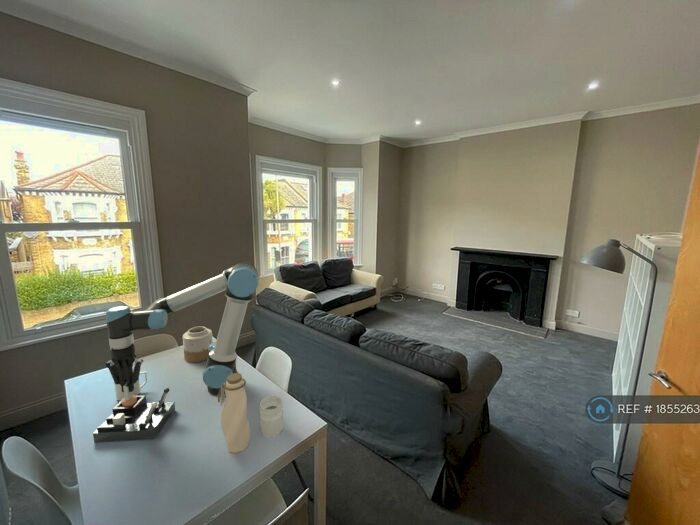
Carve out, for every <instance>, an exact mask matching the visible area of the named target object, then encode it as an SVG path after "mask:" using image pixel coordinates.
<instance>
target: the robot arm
mask: <svg viewBox="0 0 700 525" xmlns="http://www.w3.org/2000/svg"><path fill="white" fill-rule="evenodd" d="M258 285H259V273H258V270H257V268H256V266H255V265H253V264H252V263H249V262H239V263H237V264H235V265H233V266H232V267H229V268H227V269H224V270H223V272H222V273H221V274H218V275H216V276H214V277H211V278H209V279H206V280H204V281H202V282H200V283H197V284H194V285H192V286H189V287H187V288H185V289H183V290H181V291H180V290H179V291H178V292H176V293H173V294H171V295H170V294H169V295H168V296H166V297H161V298H157V299H156V300H154V301H153V302H152V303H151V304H149V306H148V307H146V308H145V309H144V310H137V311H132V310H131V307H130V306H127V305H126V306H125V305H120V306H113V307H110V308H109V309H107V311H106V312H105V318H106V321H105V323H106V327H107V334H108V341H109V343H108V344H109V348H110V350H109V351H110V357H111V359H110V360H108V361H107V362H106V363H105V364H104V365H105V367H106V368H107V369H108V371H109V373H110V375H111V377H112V379H113V383H114V382H115V384H116V385H117V384H120V385H121V388H122V392H124V396H125V401H128V400H130V399H131V398H132V397H133V390H134V384H135V383H136V382H137V381H138V380H139V381H140V375H141V374H140V372H141V366H142V364H143V362H144V360H143V358H142V359H138V358H137V355H136V348H135V339H134V331H145V330H146V331H148V330H157V329H163V328H165V327H166V326H167V323H168V316H169V315H171V314H174V313H176V312H178V311H180V310H183V309H184V308H187V307H189V306H191V305H194V304H196V303H198V302H201V301H204V300H205V299H206V300H207V299H208V298H211V297H212V296H215V295H217V294H220V293H222V292H224V291H225V293H224V296H225V298H227V299H226V302H225V303H226V304H225V307H224V310H223V314H222V318H221V321H220V325H219V329H218V333H217V337H216V339H215V340H216V341H214V342H213V343H212V344H210V345H209V349H208V350H209V356H208V359H207V361H206V364H205V367H204V370H203V372H202V381H203V383H204V384H205V386H207V387H206V388H207V392H208V393H209V394H211V395H214V396H218V394H219V391H220V389H221V387H222V385H223V383H224V382H225V383H226V382H227V377H228V376H229V375H230V374H233V373H239V372H238V370H237V358H238V354H237V353H236V348H237V346H238V341H239V338H240V337H239V336H240V334H241V329H242V325H243V323H244V319H245V315H246V312H247V308H248V303H250V302H251V301H253V300H254V296H255V292H256V290H257V288H258ZM133 369H134V371H133ZM139 374H140V375H139ZM224 395H225V388H224ZM220 396H221V393H220Z"/></svg>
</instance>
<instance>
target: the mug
mask: <svg viewBox="0 0 700 525" xmlns="http://www.w3.org/2000/svg"><path fill="white" fill-rule="evenodd" d="M133 371H134V368H133ZM142 374H144V377H145V380H144V382H143V383H142V384H141V385H140V379H139V380H138V381H137V382H136V383H135V384H134V390H133V395H136V396H139V394H140V392H141V389H142V388H143V387H144V386H145V385H146V384H147V383H148V378H147V376H148V374H147V370H145V371H140V374H139V376H140V375H142ZM113 384H114V391H115V398H116V399H117V400H118V401H119V402H120V401H121V400H122V399H123V398H124V397H125V396H124V392H122V388H121V385H120V384H117V385H116V384H115V382H114V381H113Z"/></svg>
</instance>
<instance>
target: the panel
mask: <svg viewBox="0 0 700 525" xmlns="http://www.w3.org/2000/svg"><path fill="white" fill-rule="evenodd" d="M124 398H125V397H124ZM124 398H123V399H124ZM123 399H122V400H123ZM122 400H121V401H120V400H119V401H118V403H117V404H116V405H115V406H114V407H113V408H112V414H110V416H108V417H106V419H105V421H104V422H103V423H101V425H99V426H97V427H96V430H94V431H93V433H92V435H93V442H94V444H95V443H110V442H111V443H112V442H113V443H116V442H126V441H145V440H147V441H148V440H155V439H156V438H157V436H158V435H159V434H160V432H161V431H162V429H163V428H164V426H165V425H166V424H167V423H168V421H169V420H170V418H171V417H172V415H173V414H174V412H175V411H176V405H175V401H170V402H169V401H168V402H165V401H164V403H163V404H162V405H161V407H160V408H159V407H156V408H155V410H154V413H153V415H152V417H151V419H150V420H149V422H148V423H147V424H146V423H144V422H145V420H146V417H147V415H148V413H149V411H150V408H151V405H152V403H153V402H147V395H146V394H144V395H143V394H142V395H137V403H136V404H135V405H134V406H131V407H123V406H122ZM157 401H158V402H157V404H159V402H160V399H159V400H157ZM157 406H158V405H157ZM118 413H124V414H125V423H124V425H113V418H114V417H115V416H116V415H117V414H118Z"/></svg>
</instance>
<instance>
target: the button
mask: <svg viewBox="0 0 700 525" xmlns="http://www.w3.org/2000/svg"><path fill="white" fill-rule="evenodd" d="M137 396H138V395H137ZM137 396H136V395H133V397H132V398H131V399H130V400H128V401H125V398H124V399H123V400H122V406H123V407H131V406H134V405H135V404H136V403H137Z"/></svg>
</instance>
